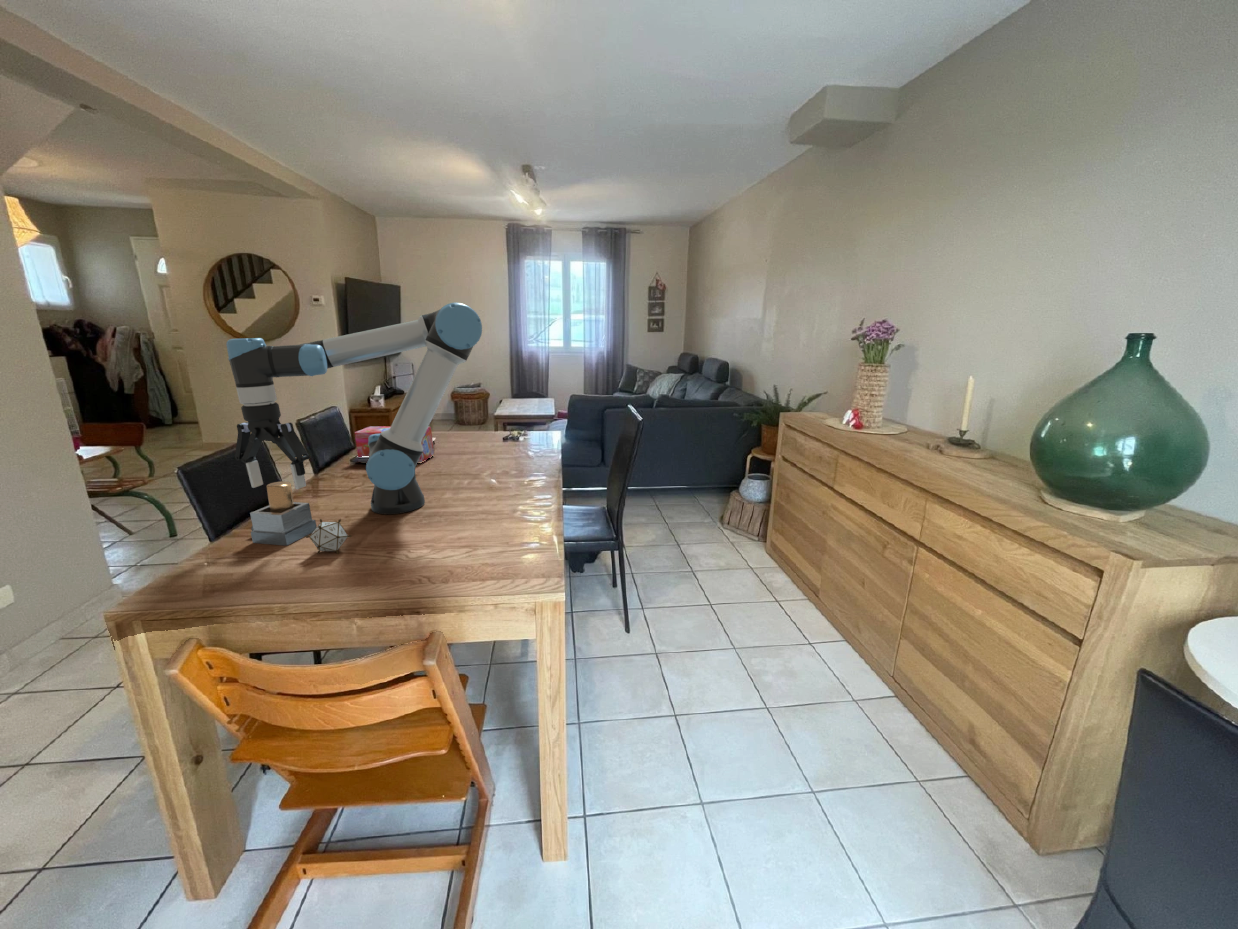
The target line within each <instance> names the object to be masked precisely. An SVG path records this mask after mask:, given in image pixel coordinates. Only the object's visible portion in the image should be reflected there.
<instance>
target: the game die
mask: <svg viewBox="0 0 1238 929" xmlns="http://www.w3.org/2000/svg"><path fill="white" fill-rule="evenodd" d="M341 521H342V519H341V518H340V519H338V521H323V519H322V518H319V524H318V525H316V526H317V528H316V529H315V530H314V531H313V532H312V533H311V534H309V535H307V536H305V537H304V538H306V539H308V538H309V539H310V541H311V542H312V543H313V545H314V546H315V548H316V549H317V550H318V551H317V552H316V554H317V555H318V554H320V553H321V552H335V553H336V554H337V555H339V554H340V552H339V550H340V548H341V547H342V546H343V544H344V543H345V542H346V540H348V538H351V537H353V535H351V534H349V535H348V533H347V531H346V530H345V528H344V527H343V525H342V524H341Z"/></svg>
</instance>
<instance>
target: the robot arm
mask: <svg viewBox="0 0 1238 929" xmlns="http://www.w3.org/2000/svg"><path fill="white" fill-rule="evenodd" d="M482 323H483V322H482V321H481V318H480V316H479V314H478V313H477V312H476V311H475V310H474V309H473V308H472V307H470V306H469V305H466V304H464V303H463V302H462V303H461V302H450V303H446V304H445V305H443V307H441V308H440V309H438V310H436V311H432V312H430V313H426V314H422V315H419V317H418V319H416V320H411V321H407V322H402V323H397V324H392V325H391V324H390V325H387V326H382V327H377V328H373V329H367V330H363V331H359V332H353V333H349V334H348V333H347V334H345V335H339V336H336V337H335V336H334V337H329V338H325V339H322V340H317V341H311V342H305V343H304V342H303V343H301V344H293V345H292V344H288V345H287V344H286V345H274V346H273V345H267V344H266V342H265V340H264V339H263V338H262V337H255V338H254V337H252V338H251V337H249V338H245V337H244V338H230V339H228V340H227V341H226V349H227V350H226V351H227V355H228V358H227V360H228V361H229V365H230V368H231V372H232V375H233V378H234V379H233V380H234V383H235V389H236V393H237V398H238V402H239V404H241V405H242V406H240V409H241V413H242V418H243V420H244V421H246V422H241V423H237V425H236V430H237V438H236V444H235V445H236V446H235V447H236V448H235V452H234V453H235V454H234V459H235V460H236V461H241V462H242V463H244V467H245V471H246V474H247V475H248V477H249V478H248V479H249V482H250V485H251V488H253V489H254V488H257V487H260V486H262V485H264V481H263V477H262V474H261V469H260V465H259V461H258V460H257V459H256V456H257V453H258V452H259V449H260V447H261V445H262V442H264V441H265V442H271V443H272V444H274V445H276V446H277V447H278V448H279V450H281V451H282V453H283V454H284V455H285V456H286V457H287V458H288V460H290V461H291V463H290V464H289V467H290V471H291V474H292V480H293V484H294V488H295V490H299V489H302V488H304V487H307V483H306V477H305V475H306V468H305V465H304V462H305V461H307V460H310V459H311V455H310V454H309V452H308V451H307V449H306V448H305V447H304V444H303V442H302V441H301V440H300V438H299V436H298V434H297V433H296V431H295V428H294V424H293V423H292V422H286V423H281V421H280V418H281V416H282V414H281V410H280V404H279V403H278V402H276V401H277V400H278V398H277V392H276V388H275V385H274V384H275V383H274V378H283V377H285V378H290V377H306V376H307V377H313V376H323V375H325V374H327V372H328V369H332V368H335V367H339V366H344V365H349V364H353V363H357V362H362V361H367V360H372V359H375V358H381V357H384V356H389V355H390V356H391V355H394V354H398V353H402V352H407V351H411V350H416V349H420V348H425V347H426V348H427V349H426V352H425V354H424V356H423V359H422V360H421V362H420V365H419V367H418V369H417V371H416V373H415V374H414V377H413V379H412V381H411V384H410V386H409V388H408V390H407V391H406V393H405V397H404V399H403V400H402V402H401V405H400V406H399V408H398V411H397V413H396V415H395V417H394V419H393V421H392V423H391V425H390V426H391V427H390V429H388V430H386V431H383V432H381V433H380V434H373V435H370V436H369V437H368V445H369V449H370V455H369V459H368V461H367V463H366V465H365V471H366V475H367V477H368V479H369V481H370V482H371V483H372V484H373V489H372V494H371V500H370V508H371V511H372V513H373V512H374V514H379V515H396V514H397V515H398V514H403V513H408V512H412V511H414V510H417V509H419V508H421V507H423V506H424V505H425V504H426V502H425V495H424V493H423V490H422V489H421V487H420V484H419V483H418V481H417V477H416V467H417V465H418V464H417V463H418V461H419V458H420V456H421V454H422V452H423V450H424V449H423V446H422V444H421V441H422V439H423V437H424V435H425V433H426V430H427V428H428V426H429V427H430V424H431V422H432V420H433V417H434V416H435V414H436V411H437V409H438V408H439V406H440V403H441V401H442V399H443V397H444V395H445V393H446V391H447V388H448V387H449V385H450V382H451V381H452V378H453V376H454V374H455V372H456V370H457V368H458V366H459V365H461V364H463V363H466V362H467V360H468V359H469V356H470V354H471V352H472V350H473V348H474V347H475V345H477V344H478V342H479V341H480V339H481V337H482V333H483V325H482Z"/></svg>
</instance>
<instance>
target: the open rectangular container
mask: <svg viewBox="0 0 1238 929" xmlns="http://www.w3.org/2000/svg"><path fill="white" fill-rule="evenodd" d="M311 511H312V510H311V506H310V502H299V501H294V508H292V509H289V510H287V511H285V512H282V513H272V512H270V506H269V505H266V506H264V507H261V508H259V509H257V510H255V511H251V512H249V514H250V519H251V524H252V526H251V529H250V530H251V531H250V536H251V539H252V541H251V542H252V543H253V544H261V545H262V544H263V545H275V546H276V545H277V546H289V545H291V544H293V543H295V542H297V541H299V540H302V539H304V538H306V537H305V536H310V535H311V534H312V532H313V531H314V530H315V529H316V528H317V526H318V525H317V522H316V519H313V517H312V513H311Z"/></svg>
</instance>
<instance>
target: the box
mask: <svg viewBox="0 0 1238 929" xmlns="http://www.w3.org/2000/svg"><path fill="white" fill-rule="evenodd" d="M390 427H391V425H390V426H384V425H383V426H378V425H377V426H371V425H370V426H367V427H364V428H363V429H360V430H357V431H354V438H355V440H354V441H355V444H356V453H357V458H358V457H362V456H369V455H370V449H369V445H368V437H369V436H370V435H373V434H380V433H381V432H383V431H386V430H388V429H390ZM433 441H434V440H433V432H432V427H431V426H430V425H429V426H428V428H427V430H426V433H425V435H424V437H423V439H422V441H421V444H422V446H423V449H424V450H423V452H422V454H421V456H420V458H419V461H418V462H422V461H424V460H427V459H428V458H430V457H431V456H432V455H433V454H434V455H435V450H434V442H433ZM430 459H431V458H430ZM427 461H428V460H427Z"/></svg>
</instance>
